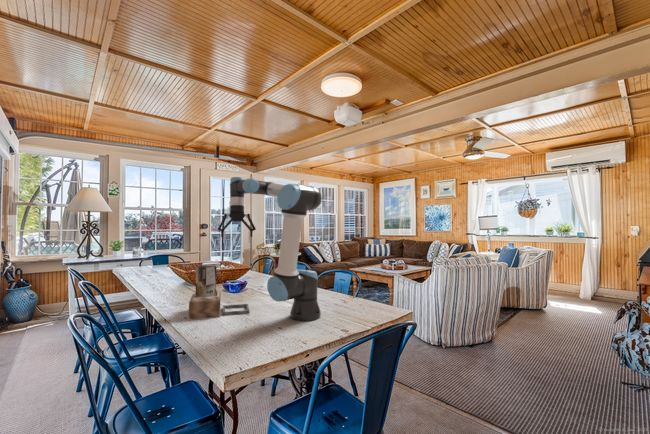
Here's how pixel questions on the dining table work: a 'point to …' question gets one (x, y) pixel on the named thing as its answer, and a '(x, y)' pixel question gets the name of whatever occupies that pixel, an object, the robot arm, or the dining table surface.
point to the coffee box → (205, 281)
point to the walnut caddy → (211, 307)
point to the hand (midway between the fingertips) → (236, 243)
